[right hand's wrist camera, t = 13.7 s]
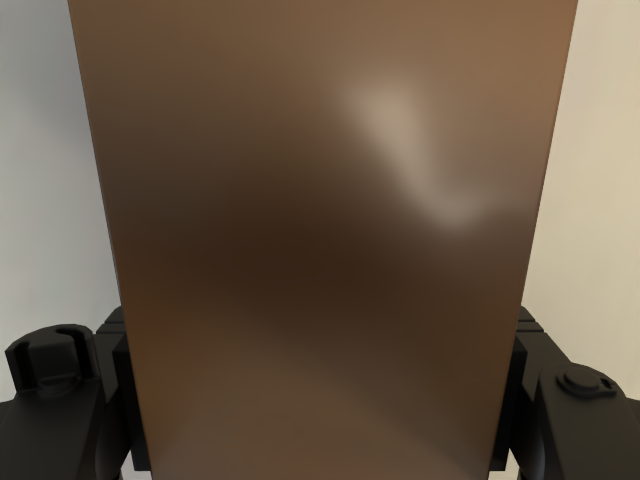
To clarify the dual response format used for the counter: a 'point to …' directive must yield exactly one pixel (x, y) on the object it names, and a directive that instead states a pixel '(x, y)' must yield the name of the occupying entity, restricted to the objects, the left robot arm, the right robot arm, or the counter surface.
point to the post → (321, 223)
